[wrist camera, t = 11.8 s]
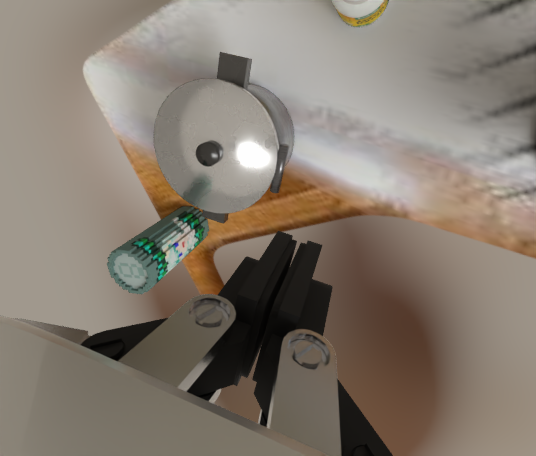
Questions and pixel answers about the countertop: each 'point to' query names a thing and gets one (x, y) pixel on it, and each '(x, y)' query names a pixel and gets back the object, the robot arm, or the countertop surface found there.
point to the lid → (218, 146)
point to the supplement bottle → (360, 11)
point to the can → (157, 250)
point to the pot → (238, 74)
